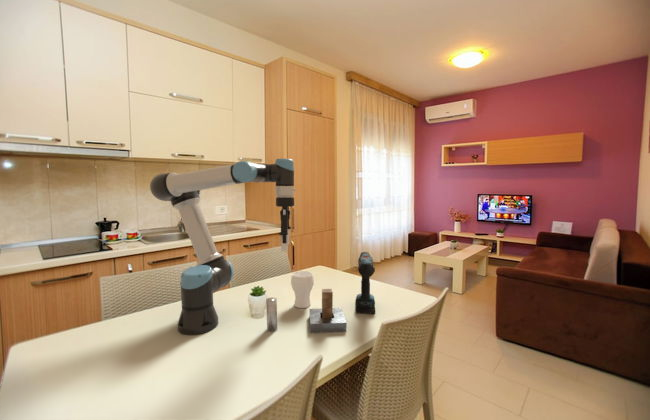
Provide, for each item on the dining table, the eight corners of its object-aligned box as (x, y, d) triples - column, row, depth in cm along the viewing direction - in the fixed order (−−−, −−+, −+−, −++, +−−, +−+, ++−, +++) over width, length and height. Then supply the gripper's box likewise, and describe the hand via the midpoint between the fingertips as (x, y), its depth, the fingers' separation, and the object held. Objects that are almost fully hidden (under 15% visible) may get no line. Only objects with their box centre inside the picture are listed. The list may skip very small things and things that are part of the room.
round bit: (266, 331, 115) (265, 301, 114) (267, 327, 119) (266, 297, 118) (277, 331, 116) (276, 300, 115) (277, 326, 120) (276, 297, 119)
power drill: (372, 298, 149) (373, 249, 147) (376, 318, 127) (377, 261, 125) (355, 297, 150) (355, 249, 148) (355, 317, 127) (356, 260, 125)
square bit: (322, 326, 120) (322, 292, 119) (321, 321, 124) (321, 289, 123) (332, 325, 120) (332, 292, 119) (331, 321, 124) (331, 288, 123)
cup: (303, 311, 134) (303, 279, 132) (286, 305, 140) (286, 274, 139) (318, 304, 142) (318, 273, 141) (301, 298, 149) (301, 269, 147)
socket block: (310, 332, 115) (310, 323, 114) (309, 316, 128) (309, 308, 128) (346, 331, 116) (346, 322, 115) (341, 315, 130) (341, 307, 129)
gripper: (293, 198, 110) (293, 254, 112) (294, 195, 135) (295, 241, 137) (272, 198, 110) (273, 254, 111) (278, 195, 134) (278, 241, 136)
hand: (285, 247), depth 124 cm, fingers open, 13 cm apart
